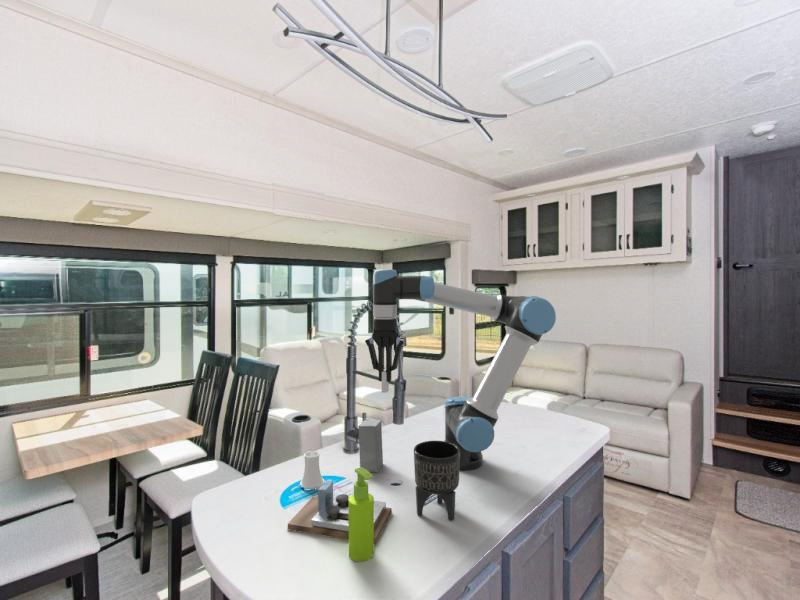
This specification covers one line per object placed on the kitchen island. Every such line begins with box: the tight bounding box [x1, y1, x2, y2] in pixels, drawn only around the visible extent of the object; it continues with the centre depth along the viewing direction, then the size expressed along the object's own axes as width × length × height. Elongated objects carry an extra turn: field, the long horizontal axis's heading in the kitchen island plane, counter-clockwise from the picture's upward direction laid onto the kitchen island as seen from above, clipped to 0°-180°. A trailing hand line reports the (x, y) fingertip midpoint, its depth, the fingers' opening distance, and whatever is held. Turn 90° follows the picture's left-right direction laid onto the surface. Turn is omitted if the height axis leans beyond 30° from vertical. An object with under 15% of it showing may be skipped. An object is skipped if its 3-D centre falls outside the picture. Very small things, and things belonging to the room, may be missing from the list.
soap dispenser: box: [348, 466, 375, 563], centre depth 94 cm, size 6×7×20 cm
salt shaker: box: [299, 450, 325, 491], centre depth 127 cm, size 8×8×10 cm
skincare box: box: [357, 419, 384, 473], centre depth 140 cm, size 8×7×16 cm
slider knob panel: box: [311, 480, 387, 531], centre depth 107 cm, size 16×13×7 cm
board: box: [287, 493, 393, 546], centre depth 107 cm, size 24×14×5 cm, turn 75°
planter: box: [413, 440, 461, 522], centre depth 112 cm, size 13×13×18 cm
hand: (385, 391), depth 129 cm, fingers closed
